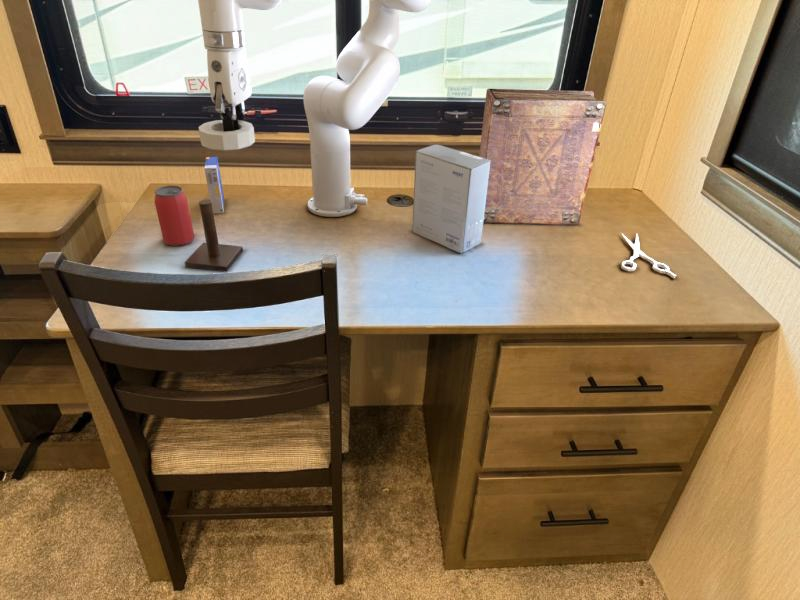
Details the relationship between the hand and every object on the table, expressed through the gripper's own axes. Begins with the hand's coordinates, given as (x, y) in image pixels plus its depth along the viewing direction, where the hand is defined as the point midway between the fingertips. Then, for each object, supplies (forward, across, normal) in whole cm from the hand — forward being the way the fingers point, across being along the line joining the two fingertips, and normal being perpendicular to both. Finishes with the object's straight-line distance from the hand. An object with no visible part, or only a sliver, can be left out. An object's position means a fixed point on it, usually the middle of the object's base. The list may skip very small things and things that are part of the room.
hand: (235, 135), depth 116 cm
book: (+22, +24, -64) cm, 72 cm away
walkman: (+23, +13, +13) cm, 29 cm away
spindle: (+23, -12, +2) cm, 26 cm away
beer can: (+23, -6, +14) cm, 28 cm away
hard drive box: (+23, +8, -45) cm, 51 cm away
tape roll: (0, -4, 0) cm, 4 cm away
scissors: (+22, +10, -89) cm, 93 cm away
